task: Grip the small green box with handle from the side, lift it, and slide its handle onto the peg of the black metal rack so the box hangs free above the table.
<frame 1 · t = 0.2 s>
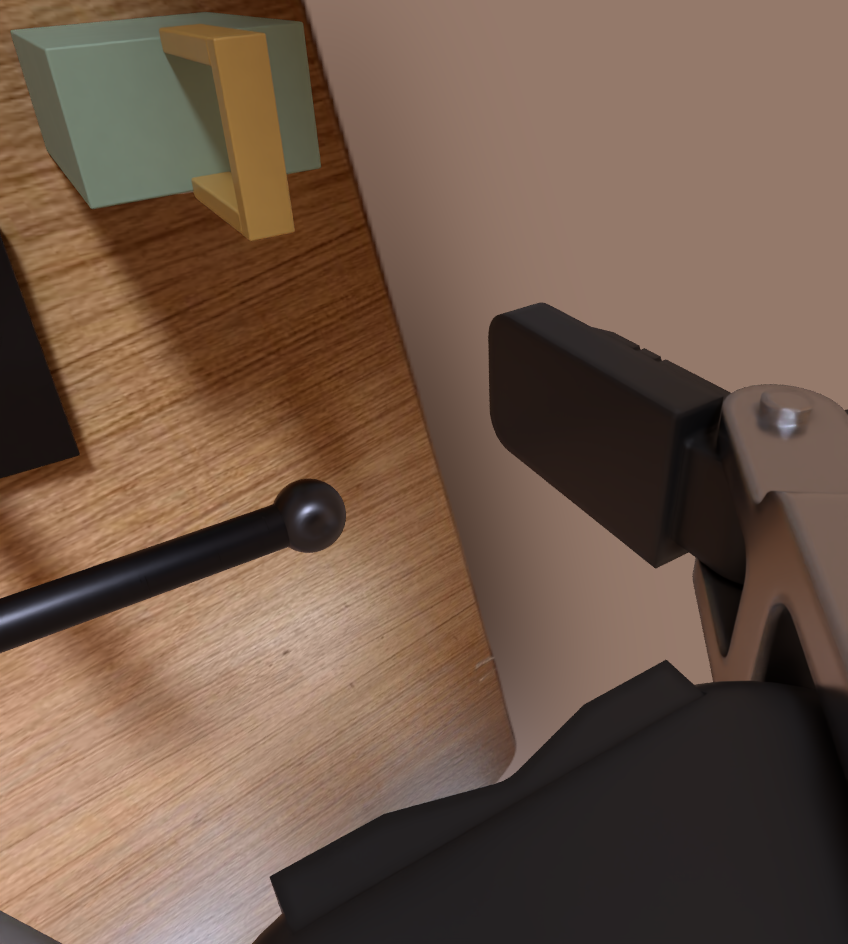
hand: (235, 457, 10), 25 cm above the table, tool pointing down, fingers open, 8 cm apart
green box with handle: (127, 81, 29), on the table
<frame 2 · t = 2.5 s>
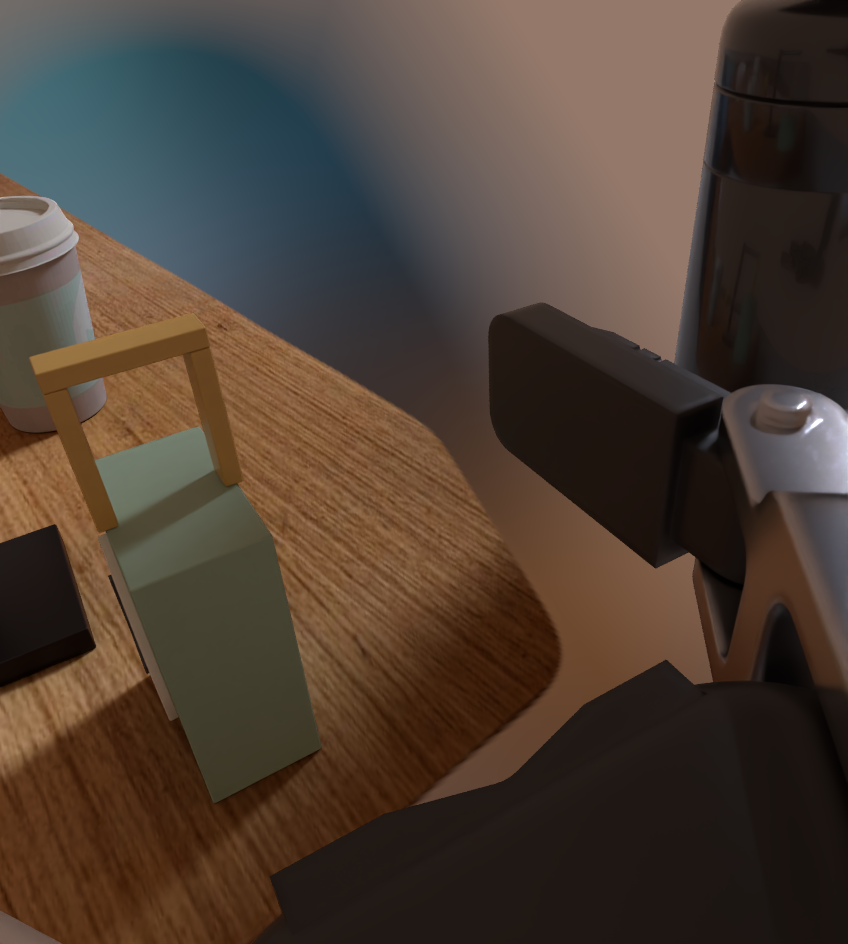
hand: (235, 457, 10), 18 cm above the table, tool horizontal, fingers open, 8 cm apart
coffee cup: (60, 410, 49), on the table
green box with handle: (236, 705, 29), on the table
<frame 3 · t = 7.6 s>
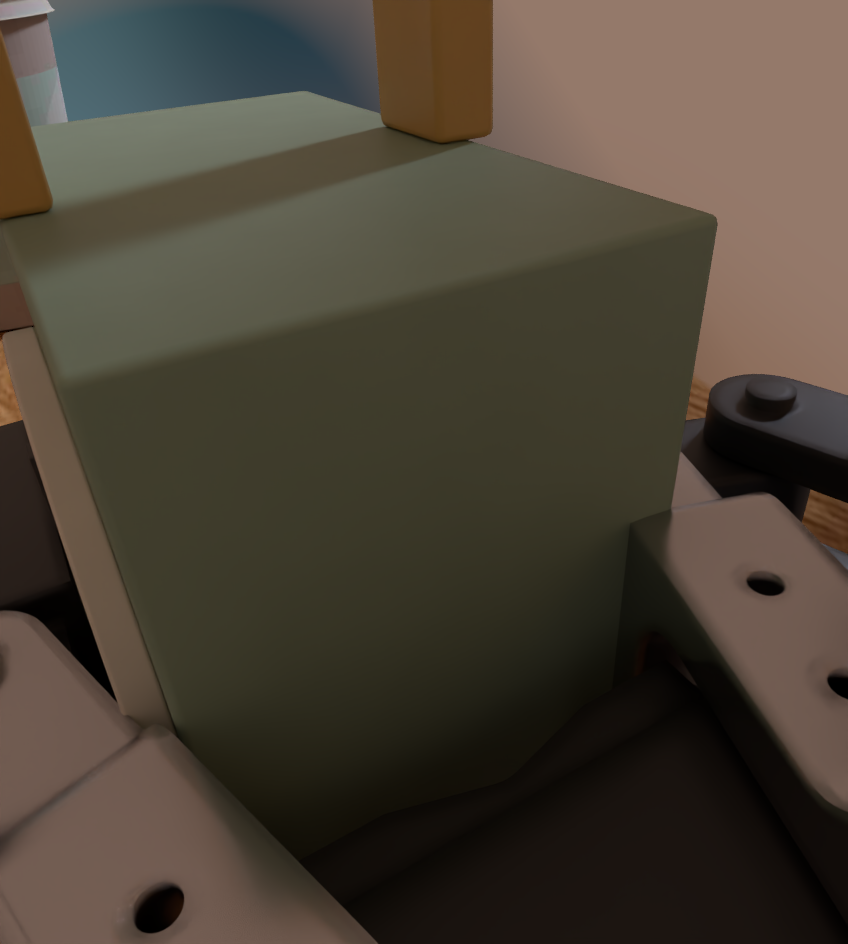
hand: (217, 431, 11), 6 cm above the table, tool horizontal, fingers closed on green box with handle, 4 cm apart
coffee cup: (29, 307, 32), on the table
green box with handle: (355, 825, 12), on the table, touching gripper
when the fingers open (10 cm above the table, at t = 20.7 s): green box with handle stays where it is, resting on rack.
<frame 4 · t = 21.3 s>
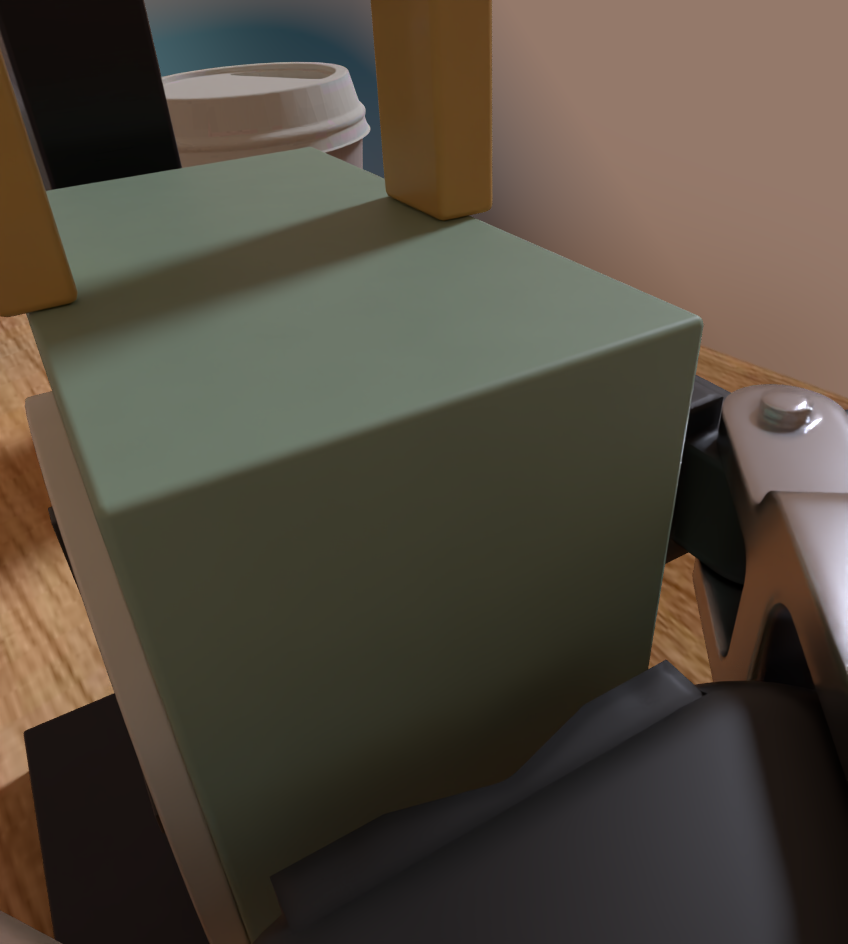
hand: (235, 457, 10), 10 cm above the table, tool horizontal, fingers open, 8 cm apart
coffee cup: (295, 392, 33), on the table
rack: (296, 792, 18), on the table
green box with handle: (362, 850, 13), point 3 cm above the table, touching rack
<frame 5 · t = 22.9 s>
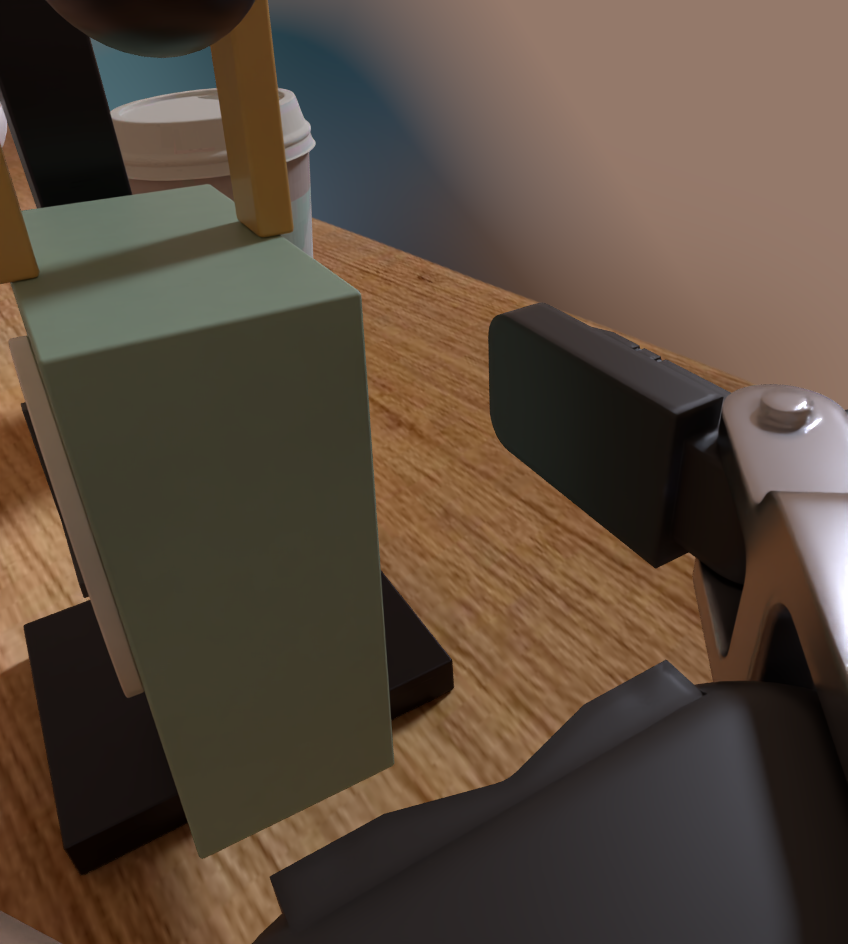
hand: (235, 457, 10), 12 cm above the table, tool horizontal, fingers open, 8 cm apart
coffee cup: (258, 371, 38), on the table
rack: (235, 669, 23), on the table
green box with handle: (245, 687, 18), point 3 cm above the table, touching rack
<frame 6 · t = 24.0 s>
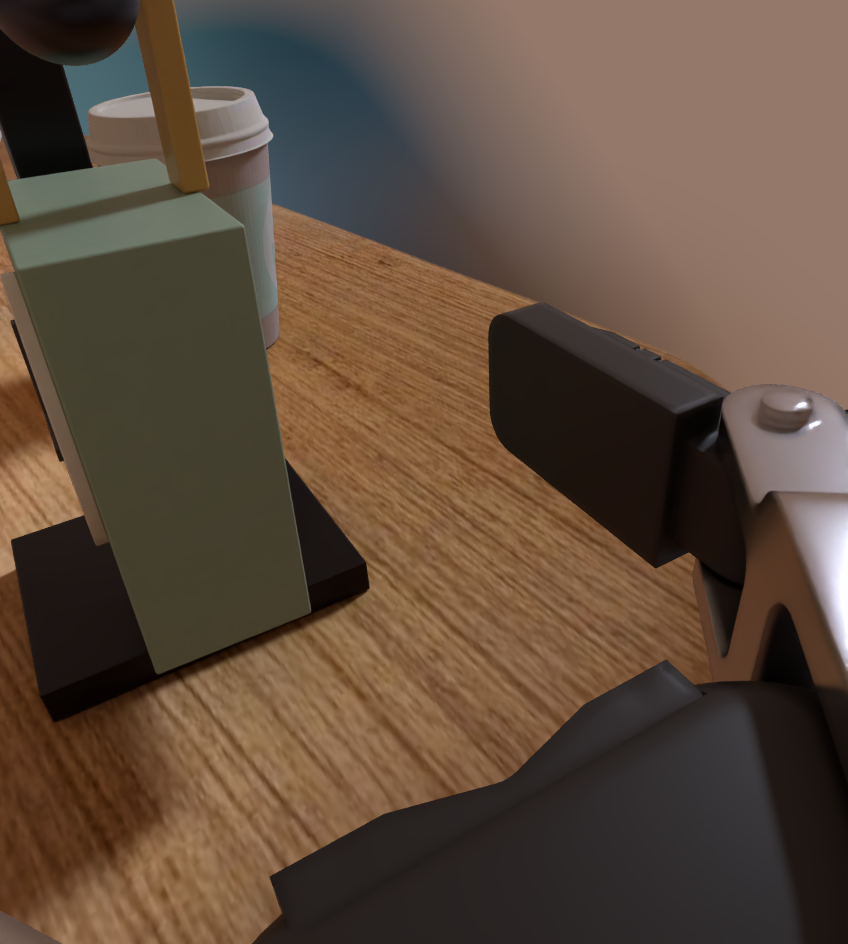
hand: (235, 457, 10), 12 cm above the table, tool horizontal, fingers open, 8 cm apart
coffee cup: (227, 343, 43), on the table
rack: (189, 576, 27), on the table
green box with handle: (199, 564, 22), point 3 cm above the table, touching rack
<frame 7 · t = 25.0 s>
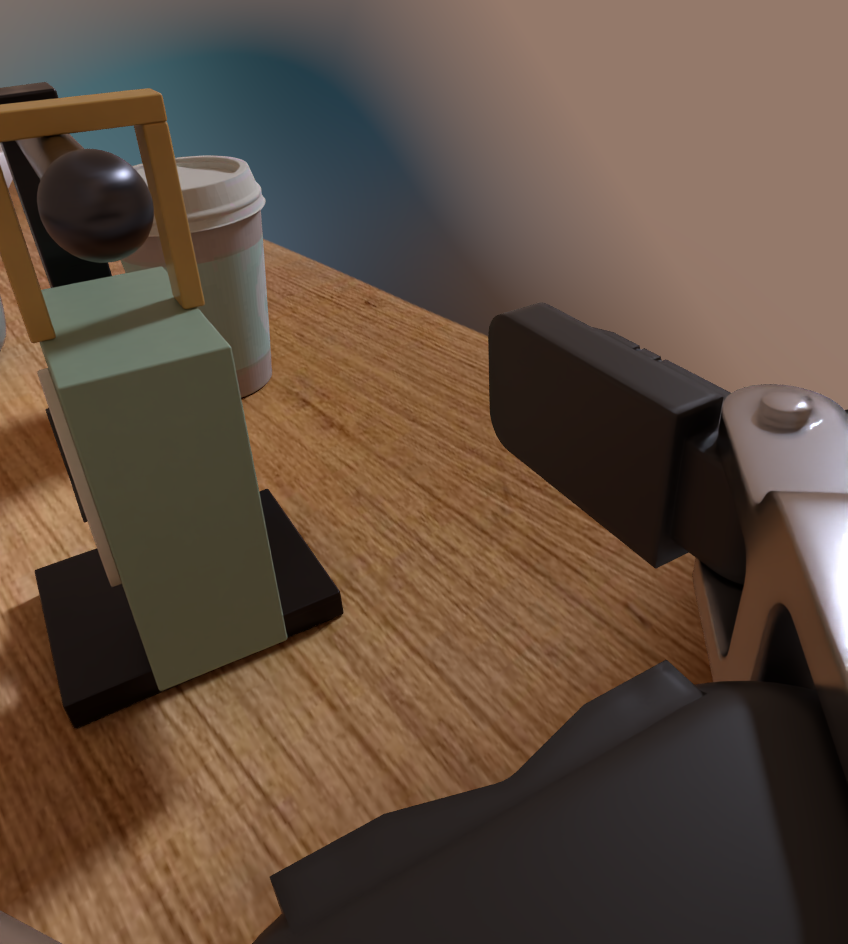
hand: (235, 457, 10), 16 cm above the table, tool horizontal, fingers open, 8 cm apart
coffee cup: (224, 382, 47), on the table
rack: (188, 602, 31), on the table
green box with handle: (194, 597, 26), point 3 cm above the table, touching rack
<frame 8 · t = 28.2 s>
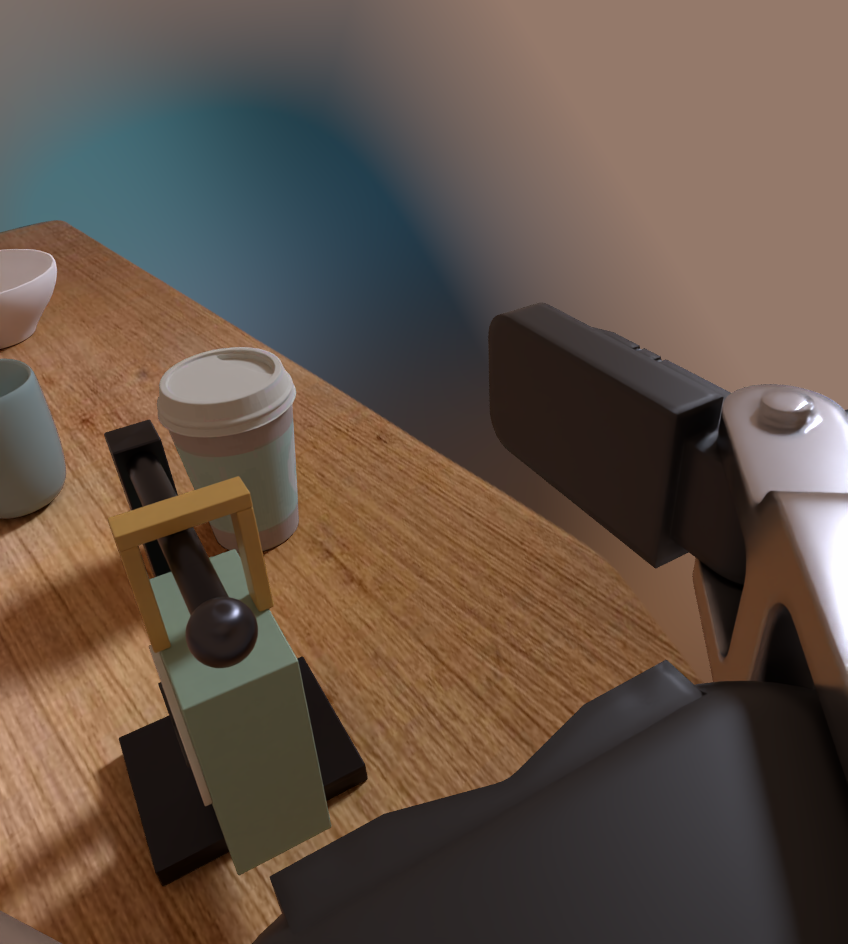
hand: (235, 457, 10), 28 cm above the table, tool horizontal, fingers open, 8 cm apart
cup: (25, 502, 59), on the table
coffee cup: (257, 528, 55), on the table
rack: (243, 765, 39), on the table
green box with handle: (257, 784, 34), point 3 cm above the table, touching rack
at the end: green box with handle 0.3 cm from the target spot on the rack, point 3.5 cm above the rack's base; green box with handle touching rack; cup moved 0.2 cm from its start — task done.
